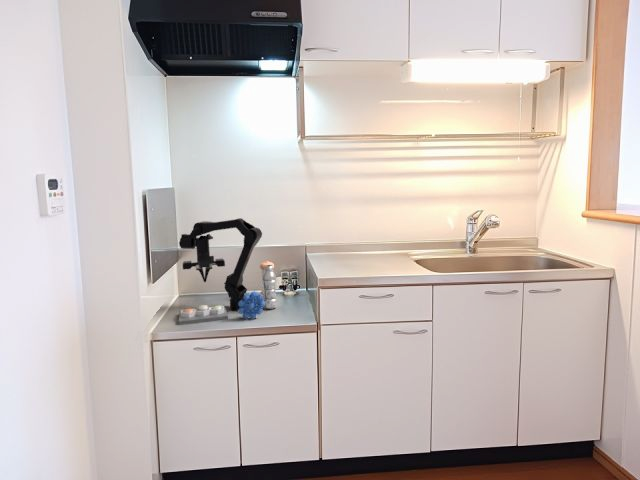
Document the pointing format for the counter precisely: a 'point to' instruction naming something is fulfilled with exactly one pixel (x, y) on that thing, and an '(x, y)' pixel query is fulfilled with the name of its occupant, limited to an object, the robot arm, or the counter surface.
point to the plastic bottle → (269, 287)
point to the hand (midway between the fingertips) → (204, 281)
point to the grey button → (202, 308)
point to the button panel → (202, 316)
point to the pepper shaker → (263, 273)
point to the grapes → (251, 305)
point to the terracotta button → (188, 310)
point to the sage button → (216, 307)
